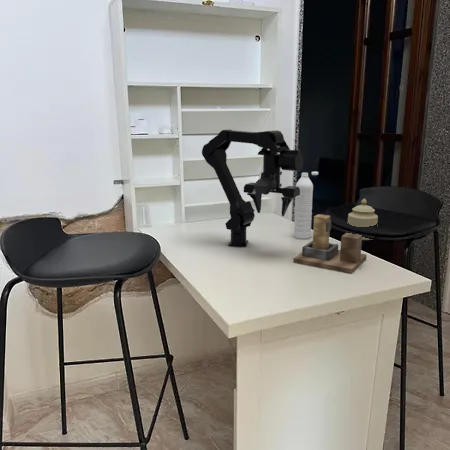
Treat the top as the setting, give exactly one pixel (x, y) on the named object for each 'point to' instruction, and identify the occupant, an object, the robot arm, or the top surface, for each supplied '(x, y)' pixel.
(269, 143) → the robot arm
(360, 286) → the top surface
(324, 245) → the beige block
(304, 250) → the wooden fixture board
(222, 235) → the top surface
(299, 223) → the water bottle
